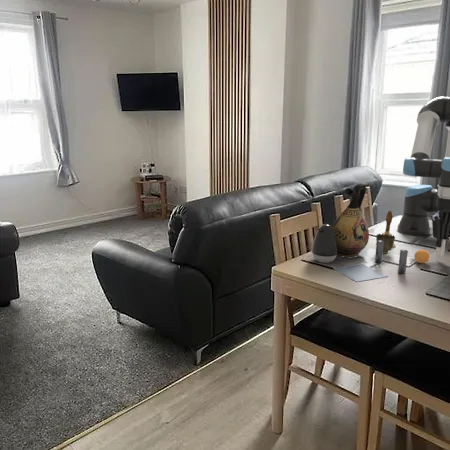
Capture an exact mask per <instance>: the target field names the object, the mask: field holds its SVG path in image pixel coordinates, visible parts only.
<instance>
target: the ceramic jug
mask: <svg viewBox="0 0 450 450" xmlns="http://www.w3.org/2000/svg"><path fill="white" fill-rule="evenodd" d="M366 186H367V185H366V184H364V183H356V184H355V185H354V187H353V189H352V188H350V187H347V188H345V189H344V191H343V192H342V196H343V198H346V200H349V204H348V205H347V206H346V208H345V209H344V210H343V211H342V212H341V213H340V214H339V216H338V217H337V218H336V219H335V221H334V223H333V224H332V228H333V229H334V231H335V234H336V239H337V245H338V254H337V256H338V255H339V256H338V257H343V256H344V257H343V258H348V257H353V258H356V257H355V256H357V257H358V256H359V254H360V253H361V251H363V250H364V249H365V248H366V247H367V245H368V243H369V240H370V239H369V238H370V232H369V225H368V223H367V220H366V219H365V218H364V217H365V216H364V215H363V213H362V209H361V206H362V204H363V201H364V199H365V196H366V190H367V187H366Z"/></svg>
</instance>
